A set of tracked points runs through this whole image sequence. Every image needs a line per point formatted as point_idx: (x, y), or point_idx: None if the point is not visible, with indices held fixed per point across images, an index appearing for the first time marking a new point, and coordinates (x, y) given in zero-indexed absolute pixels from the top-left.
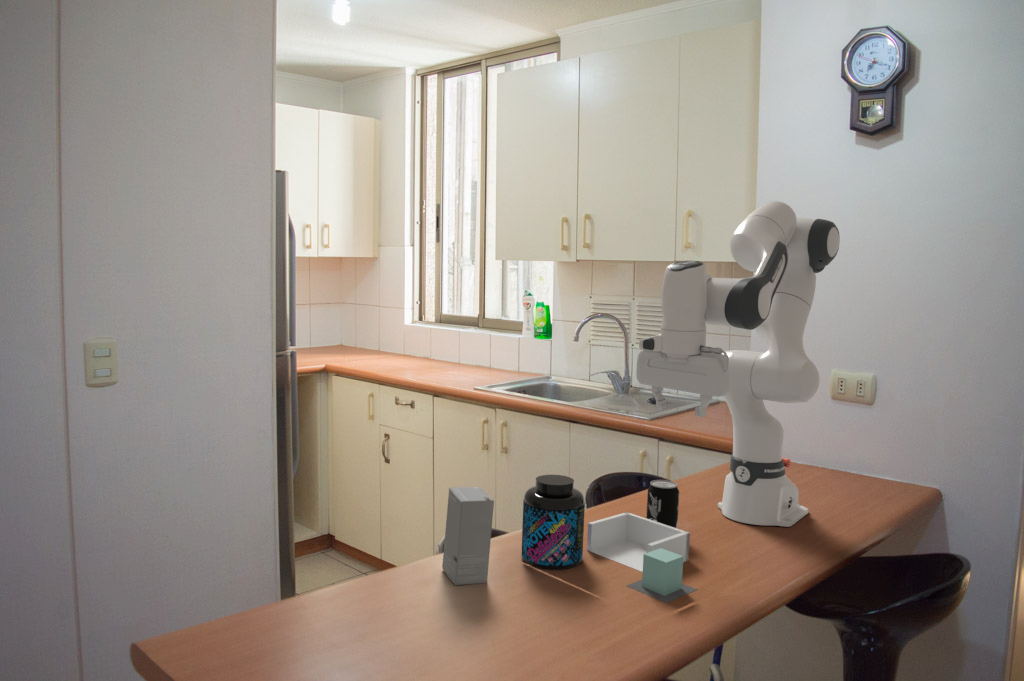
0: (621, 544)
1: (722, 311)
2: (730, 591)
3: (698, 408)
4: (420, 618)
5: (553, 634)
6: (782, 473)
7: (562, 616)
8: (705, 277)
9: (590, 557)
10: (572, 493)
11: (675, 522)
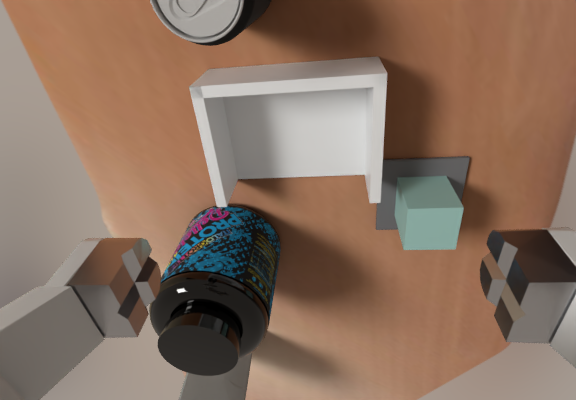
0: (236, 108)
1: None
2: (516, 106)
3: (545, 339)
4: (295, 392)
5: (401, 348)
6: None
7: (378, 323)
8: None
9: (253, 188)
10: (237, 322)
11: None
